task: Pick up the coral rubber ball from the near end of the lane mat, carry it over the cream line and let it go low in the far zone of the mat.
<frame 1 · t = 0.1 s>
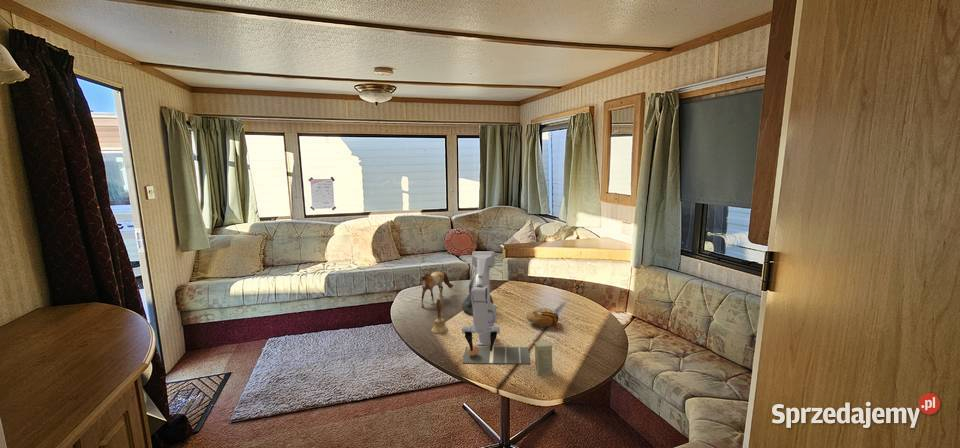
hand: (481, 350, 152), 10 cm above the table, tool pointing down, fingers open, 7 cm apart
koala plush: (477, 310, 219), on the table
horse figurine: (439, 302, 234), on the table
skincare box: (543, 372, 154), on the table
lane mat: (496, 355, 168), on the table
hand bell: (439, 330, 195), on the table
nautilus: (546, 326, 195), on the table
ball: (472, 350, 167), point 3 cm above the table, touching lane mat
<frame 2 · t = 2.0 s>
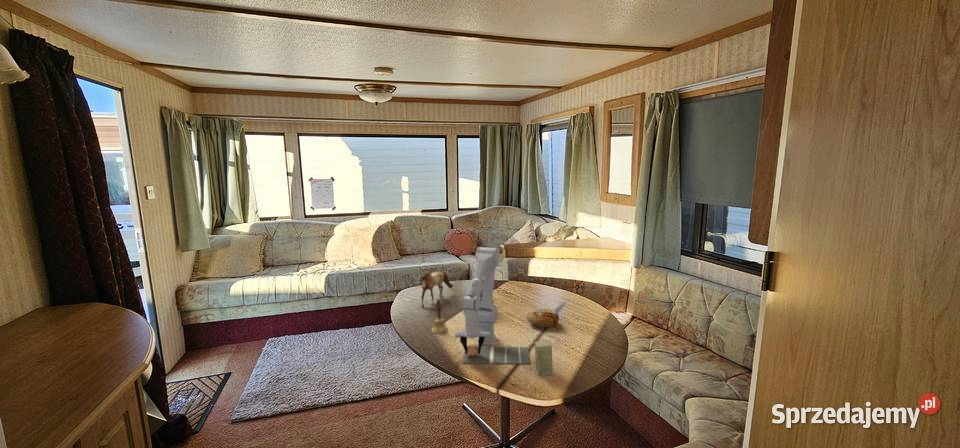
hand: (473, 353, 167), 2 cm above the table, tool pointing down, fingers closed on ball, 5 cm apart
ball: (472, 350, 167), point 3 cm above the table, touching gripper, lane mat
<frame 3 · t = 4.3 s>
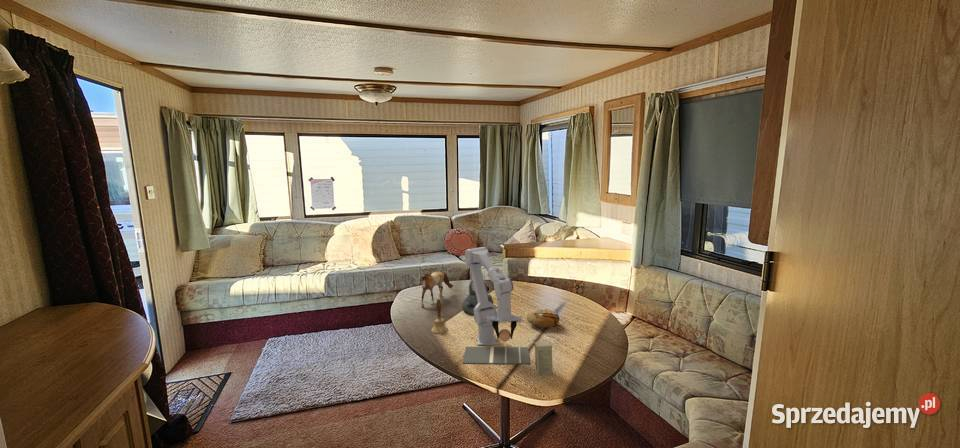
hand: (504, 337, 165), 9 cm above the table, tool pointing down, fingers closed on ball, 5 cm apart
ball: (504, 335, 165), point 10 cm above the table, touching gripper
when the fingers open (3 cm above the table, at t = 6.6 s): ball drops 1 cm, resting on lane mat.
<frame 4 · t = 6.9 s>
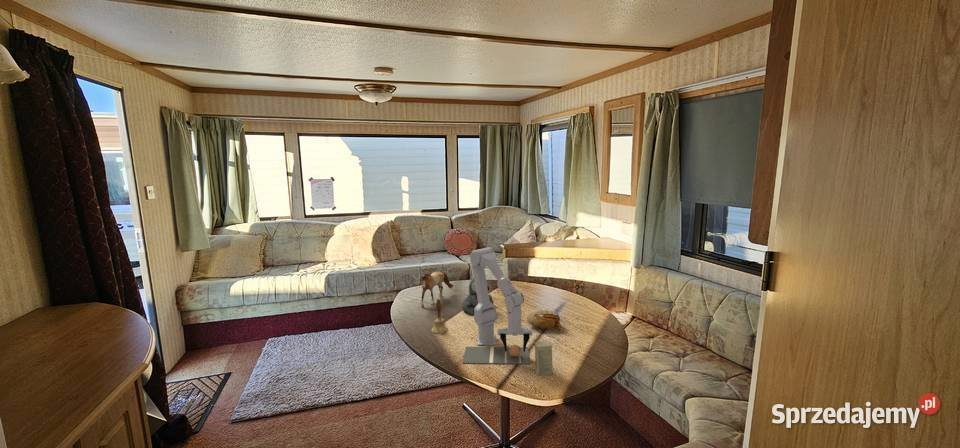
hand: (515, 350, 166), 3 cm above the table, tool pointing down, fingers open, 7 cm apart
ball: (515, 350, 166), point 3 cm above the table, touching lane mat
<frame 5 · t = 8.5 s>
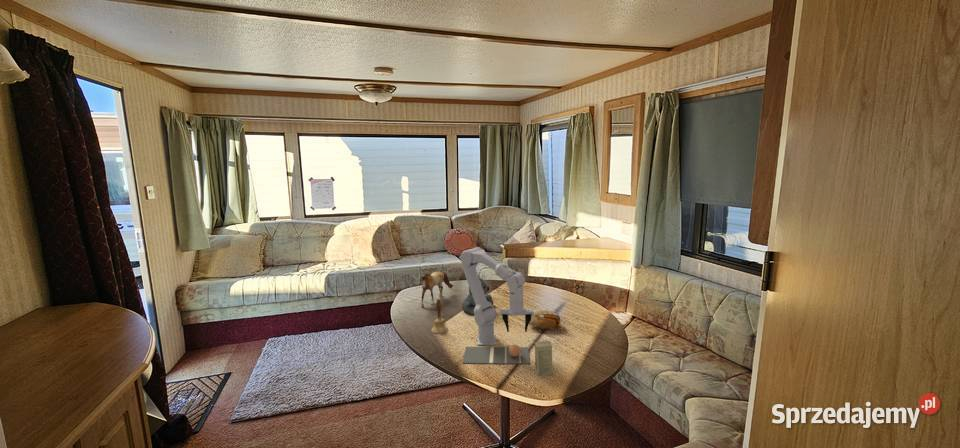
hand: (516, 330, 168), 10 cm above the table, tool pointing down, fingers open, 7 cm apart
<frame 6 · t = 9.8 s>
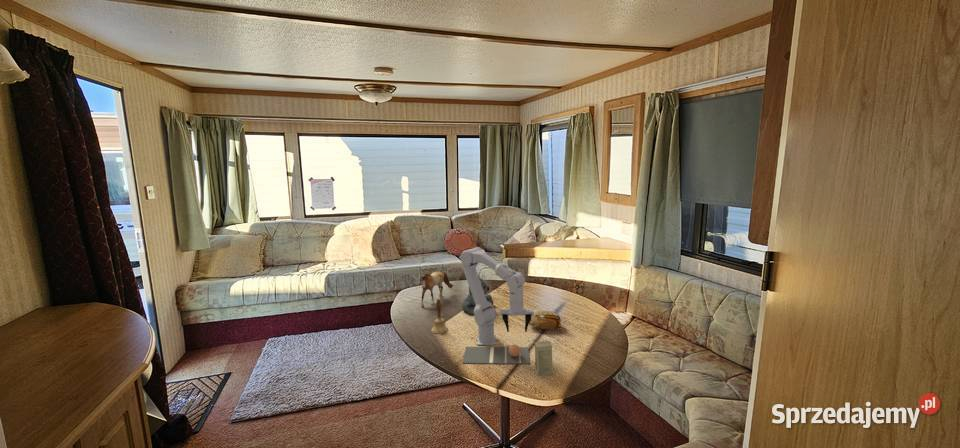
hand: (516, 330, 168), 10 cm above the table, tool pointing down, fingers open, 7 cm apart
at the end: ball inside the target area (0.8 cm from its centre), point 2.9 cm above the table; the gripper is holding nothing; ball moved 17.9 cm from its start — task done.
